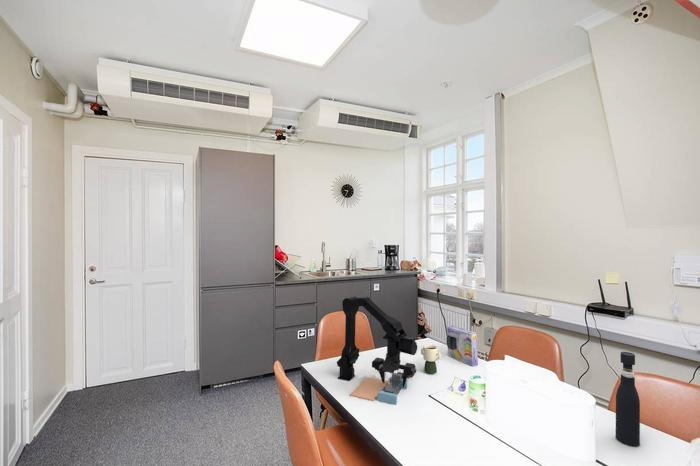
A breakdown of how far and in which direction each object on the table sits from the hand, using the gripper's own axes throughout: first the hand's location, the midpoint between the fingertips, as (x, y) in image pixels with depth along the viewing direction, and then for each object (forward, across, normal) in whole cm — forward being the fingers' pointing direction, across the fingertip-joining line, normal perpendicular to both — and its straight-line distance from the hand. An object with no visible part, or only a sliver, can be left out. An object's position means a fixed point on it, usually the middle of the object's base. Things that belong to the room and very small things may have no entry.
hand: (393, 385), depth 148 cm
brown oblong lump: (+4, +1, +18) cm, 18 cm away
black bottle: (+4, +83, +2) cm, 83 cm away
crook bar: (+4, 0, -1) cm, 4 cm away
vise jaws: (+4, 0, 0) cm, 4 cm away
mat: (+4, -11, 0) cm, 12 cm away
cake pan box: (+4, +22, +54) cm, 58 cm away
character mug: (+4, +10, +30) cm, 31 cm away
